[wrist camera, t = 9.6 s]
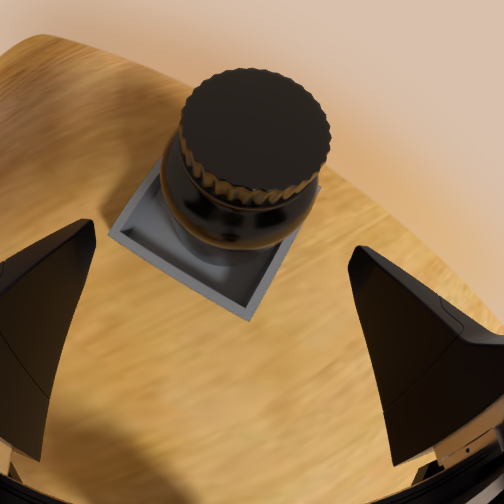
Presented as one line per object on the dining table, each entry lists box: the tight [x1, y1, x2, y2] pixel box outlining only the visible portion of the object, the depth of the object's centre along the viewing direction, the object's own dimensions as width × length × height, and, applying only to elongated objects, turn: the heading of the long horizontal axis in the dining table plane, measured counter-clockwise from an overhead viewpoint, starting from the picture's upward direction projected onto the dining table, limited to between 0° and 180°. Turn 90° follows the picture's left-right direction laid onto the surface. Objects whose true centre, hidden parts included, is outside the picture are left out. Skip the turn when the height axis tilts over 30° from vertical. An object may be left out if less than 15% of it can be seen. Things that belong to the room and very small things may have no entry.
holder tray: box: [107, 155, 321, 322], centre depth 19 cm, size 10×10×2 cm
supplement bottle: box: [160, 68, 332, 267], centre depth 14 cm, size 7×7×12 cm
